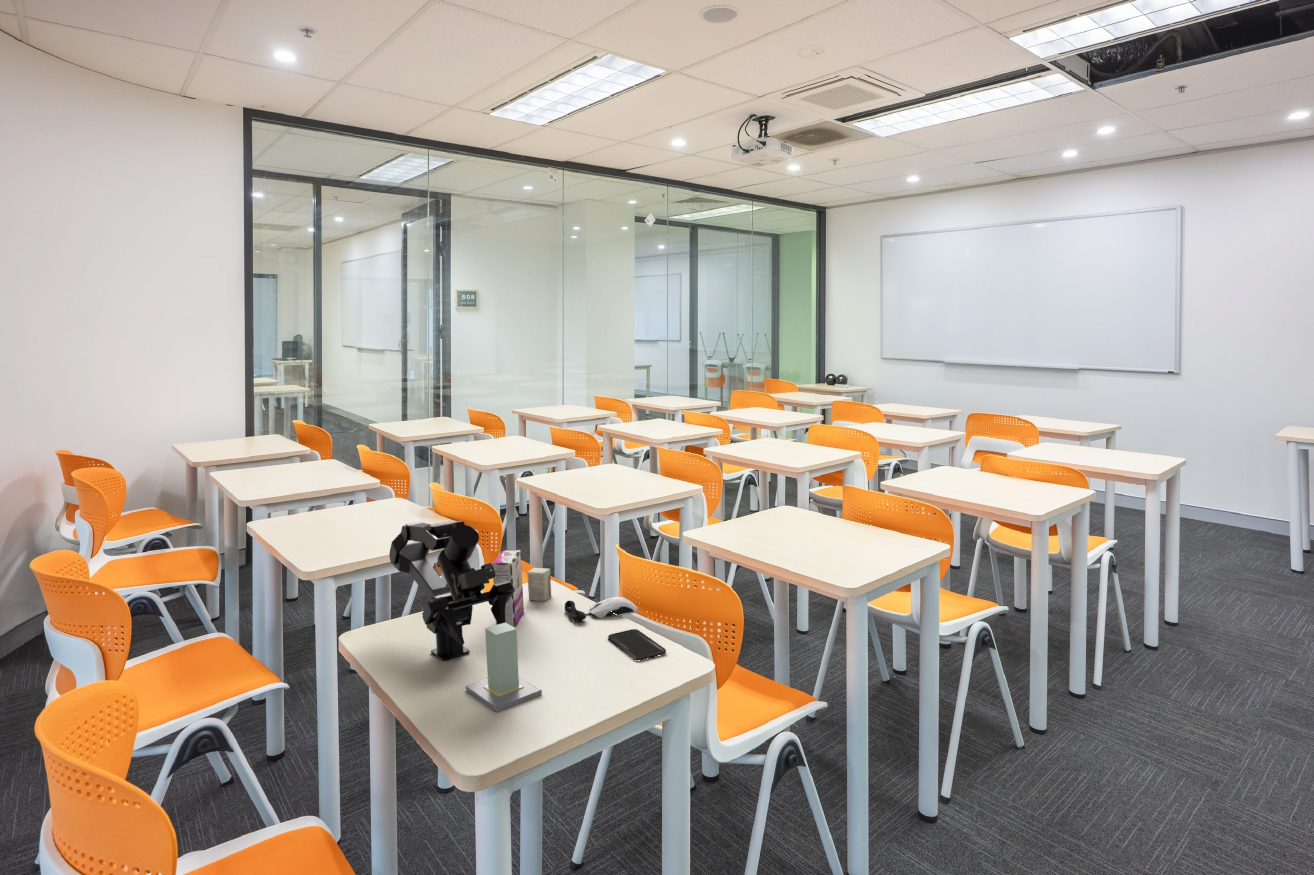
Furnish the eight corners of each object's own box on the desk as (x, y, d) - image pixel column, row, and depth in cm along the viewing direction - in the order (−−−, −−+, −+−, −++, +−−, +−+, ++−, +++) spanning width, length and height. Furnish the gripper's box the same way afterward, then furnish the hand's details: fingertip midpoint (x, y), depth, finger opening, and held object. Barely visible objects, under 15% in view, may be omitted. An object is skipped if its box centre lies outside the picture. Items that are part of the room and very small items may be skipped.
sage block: (488, 686, 144) (485, 628, 143) (508, 679, 147) (505, 622, 145) (498, 694, 141) (495, 634, 139) (519, 687, 143) (516, 628, 142)
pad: (465, 690, 145) (465, 684, 145) (510, 674, 152) (509, 669, 152) (496, 712, 136) (496, 706, 136) (541, 694, 143) (541, 688, 143)
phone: (635, 628, 173) (667, 650, 160) (636, 632, 173) (667, 655, 160) (605, 635, 169) (636, 658, 156) (606, 640, 170) (636, 663, 157)
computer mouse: (642, 616, 184) (642, 601, 183) (571, 626, 178) (571, 610, 178) (631, 603, 193) (630, 588, 193) (563, 612, 188) (562, 597, 187)
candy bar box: (505, 611, 188) (502, 550, 186) (524, 611, 188) (521, 549, 186) (494, 628, 177) (491, 563, 175) (515, 628, 177) (512, 562, 175)
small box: (552, 596, 199) (550, 568, 198) (545, 601, 195) (544, 573, 194) (535, 594, 200) (534, 567, 199) (528, 600, 196) (526, 571, 195)
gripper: (424, 562, 144) (451, 631, 137) (509, 544, 156) (537, 607, 149) (411, 590, 151) (436, 658, 144) (493, 571, 163) (519, 632, 156)
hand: (484, 638), depth 148 cm, fingers open, 9 cm apart
